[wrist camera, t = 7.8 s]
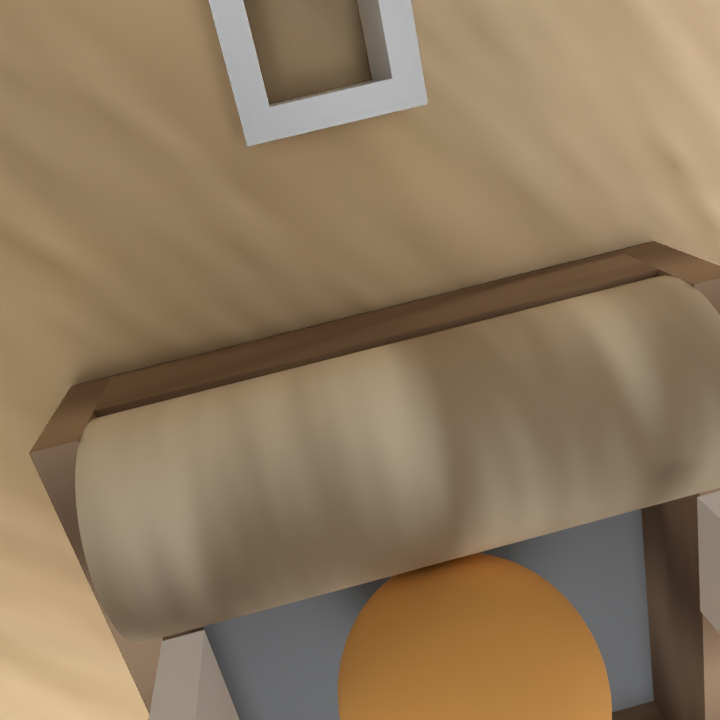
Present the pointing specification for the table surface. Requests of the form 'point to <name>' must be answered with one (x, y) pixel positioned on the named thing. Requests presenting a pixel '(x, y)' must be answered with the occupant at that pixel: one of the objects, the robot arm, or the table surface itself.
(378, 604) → the ball
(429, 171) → the table surface
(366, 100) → the grey square frame
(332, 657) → the mat
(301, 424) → the brown wooden tray
